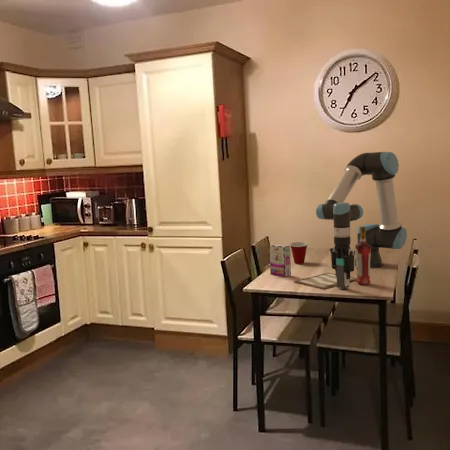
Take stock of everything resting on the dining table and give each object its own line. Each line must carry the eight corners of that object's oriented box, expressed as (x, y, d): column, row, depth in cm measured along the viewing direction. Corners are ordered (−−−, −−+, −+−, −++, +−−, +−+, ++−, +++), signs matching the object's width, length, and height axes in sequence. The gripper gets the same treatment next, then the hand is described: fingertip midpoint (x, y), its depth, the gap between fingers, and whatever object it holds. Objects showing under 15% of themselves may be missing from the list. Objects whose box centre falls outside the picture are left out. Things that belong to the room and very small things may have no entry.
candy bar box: (291, 275, 274) (290, 245, 272) (285, 277, 271) (284, 246, 269) (276, 272, 282) (275, 243, 280) (270, 274, 279) (268, 244, 277)
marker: (342, 285, 245) (342, 256, 243) (349, 287, 242) (349, 258, 240) (336, 287, 243) (336, 258, 241) (343, 288, 239) (343, 259, 237)
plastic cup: (288, 265, 301) (288, 244, 299) (291, 261, 311) (290, 241, 309) (307, 265, 298) (306, 244, 296) (309, 261, 308) (309, 241, 306)
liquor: (353, 282, 253) (352, 226, 249) (368, 281, 253) (367, 225, 250) (358, 286, 246) (357, 228, 242) (373, 285, 246) (372, 227, 242)
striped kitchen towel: (328, 273, 274) (328, 272, 274) (358, 279, 258) (358, 278, 258) (293, 282, 259) (293, 281, 259) (323, 289, 243) (323, 288, 243)
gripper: (322, 235, 244) (324, 283, 247) (351, 238, 230) (352, 289, 233) (333, 233, 248) (334, 280, 251) (362, 236, 234) (362, 286, 238)
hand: (343, 284), depth 242 cm, fingers closed on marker, 4 cm apart
